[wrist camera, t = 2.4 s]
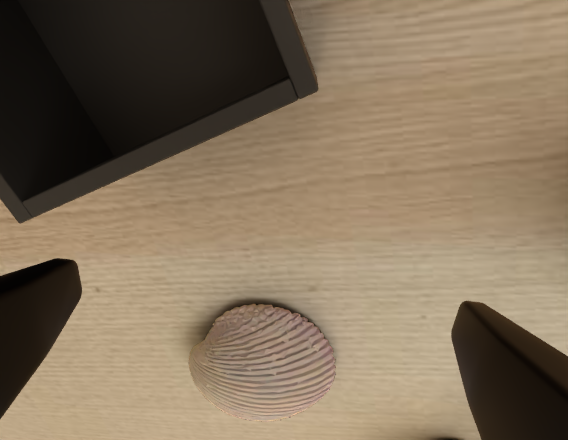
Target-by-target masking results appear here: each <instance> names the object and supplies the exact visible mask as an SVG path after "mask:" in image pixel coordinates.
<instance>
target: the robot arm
mask: <svg viewBox="0 0 568 440" xmlns="http://www.w3.org/2000/svg"><path fill="white" fill-rule="evenodd" d="M81 294H82V286H81V281H80V276H79V270H78V266H77V263H76V262H75V261H74V260H69V259H60V258H57V259H52V260H49V261H46V262H43V263H40V264H37V265H34V266H30V267H27V268H24V269H21V270H18V271H15V272H12V273H8V274H5V275H2V276H0V419H1V418H2V416H3V415H4V413H5V412H6V411H7V409H8V408H9V407H10V405H11V404H12V402H13V401H14V400H15V398H16V397H17V396H18V394H19V393H20V392H21V390H22V389H23V387H24V386H25V385H26V383H27V382H28V381H29V379H30V378H31V376H32V375H33V374H34V372H35V371H36V370H37V368H38V367H39V366H40V364H41V363H42V361H43V360H44V358H45V357H46V355H47V354H48V352H49V351H50V349H51V348H52V346H53V344H54V343H55V341H56V339H57V338H58V336H59V334H60V332H61V331H62V329H63V327H64V326H65V324H66V322H67V321H68V319H69V317H70V316H71V314H72V312H73V310H74V309H75V307H76V305H77V304H78V302H79V300H80V298H81ZM451 336H452V342H453V346H454V350H455V354H456V358H457V362H458V366H459V370H460V374H461V378H462V381H463V385H464V389H465V393H466V397H467V400H468V403H469V406H470V409H471V412H472V415H473V418H474V420H475V423H476V426H477V428H478V431H479V434H480V436H481V439H482V440H568V356H566V355H565V354H563V353H562V352H560V351H558V350H557V349H555V348H554V347H552V346H550V345H549V344H547V343H546V342H544V341H542V340H541V339H539V338H538V337H536V336H535V335H533V334H531V333H530V332H528V331H527V330H525V329H523V328H522V327H520V326H519V325H517V324H515V323H514V322H512V321H511V320H509V319H508V318H506V317H504V316H503V315H501V314H500V313H498V312H496V311H495V310H493V309H492V308H490V307H488V306H487V305H485V304H483V303H480V302H471V301H464V302H462V303H461V305H460V307H459V310H458V313H457V316H456V319H455V322H454V325H453V328H452V333H451Z"/></svg>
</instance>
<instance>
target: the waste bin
mask: <svg viewBox="0 0 568 440" xmlns="http://www.w3.org/2000/svg"><path fill="white" fill-rule="evenodd" d="M317 91H318V83H317V77H316V74H315V71H314V69H313V66H312V63H311V61H310V58H309V55H308V53H307V50H306V47H305V44H304V42H303V39H302V36H301V34H300V31H299V28H298V26H297V23H296V20H295V18H294V15H293V12H292V9H291V7H290V4H289V1H288V0H0V199H1V200H2V202H3V203H4V204H5V206H6V207H7V208H8V209H9V211H10V212H11V213H12V215H13V216H14V217H15V219H16V220H17V221H18V223H23V222H25V221H27V220H29V219H32V218H34V217H36V216H38V215H41V214H43V213H45V212H47V211H50V210H52V209H54V208H56V207H59V206H61V205H63V204H65V203H68V202H70V201H72V200H74V199H77V198H79V197H81V196H83V195H86V194H88V193H90V192H92V191H95V190H97V189H99V188H101V187H104V186H106V185H108V184H110V183H113V182H115V181H117V180H119V179H122V178H124V177H126V176H128V175H131V174H133V173H135V172H137V171H140V170H142V169H144V168H146V167H149V166H151V165H153V164H155V163H158V162H160V161H162V160H164V159H167V158H169V157H171V156H173V155H176V154H178V153H180V152H182V151H185V150H187V149H189V148H191V147H194V146H196V145H198V144H200V143H203V142H205V141H207V140H209V139H212V138H214V137H216V136H218V135H221V134H223V133H225V132H227V131H230V130H232V129H234V128H236V127H239V126H241V125H243V124H245V123H248V122H250V121H252V120H254V119H257V118H259V117H261V116H263V115H266V114H268V113H270V112H272V111H275V110H277V109H279V108H281V107H284V106H286V105H288V104H290V103H293V102H295V101H297V100H298V98H299V99H301V98H304V97H306V96H308V95H310V94H313V93H315V92H317Z"/></svg>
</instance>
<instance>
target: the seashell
mask: <svg viewBox="0 0 568 440" xmlns="http://www.w3.org/2000/svg"><path fill="white" fill-rule="evenodd" d="M212 325H213V327H212V328H211V330H210V331H209V333H208V335H207V336H206V338H205V340H204V341H203V342H201V343H199V344H197V345H195V346H194V347H193V349H192V350H191V352H190V356H189V368H190V372H191V376H192V379H193V381H194V383H195V385H196V386H197V388H198V389H199V391H200V392H201V393H202V394H203V395H204V397H205V398H206V399H207V400H208V401H209V402H210V403H212V404H213V405H214V406H216V407H217V408H218V409H220V410H221V411H224V412H225V413H227V414H229V415H233V416H235V417H238V418H243V419H245V420H253V421H264V422H267V421H274V420H281V419H284V418H287V417H289V418H290V417H291V416H293V415H295V414H297V413H299V412H302V411H304V410H306V409H307V408H309V407H310V406H312V405H313V404H314V403H316V402H317V401H319V399H321V398H322V397H323V396H324V394H325V393H326V392H328V390H330V387H331V384H332V382H333V381H334V376H335V375H336V373H335V371H334V370H335V368H336V366H335V365H334V362H335V359H334V357H333V356H332V354H333V349H332V347H331V346H330V345H329V342H328V340H327V339H324V334H322V333H320V331H319V328H318V327H315V326H314V324H313V323H310V322H308V319H307V318H305V317H302V318H301V317H300V314H298V313H294V314H292V313H291V312H290V311H289V310H284V309H283V308H279V307H276V308H273V307H272V305H263V304H260V305H257V306H256V305H255V304H252V305H249V306H247V305H244V306H241V307H239V308H238V307H235V308H234V309H232V310H231V311H226V312H225V313H224V314H223V315H222V316H220V317H218V318H217V319H216V320H215V323H213V324H212Z"/></svg>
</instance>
